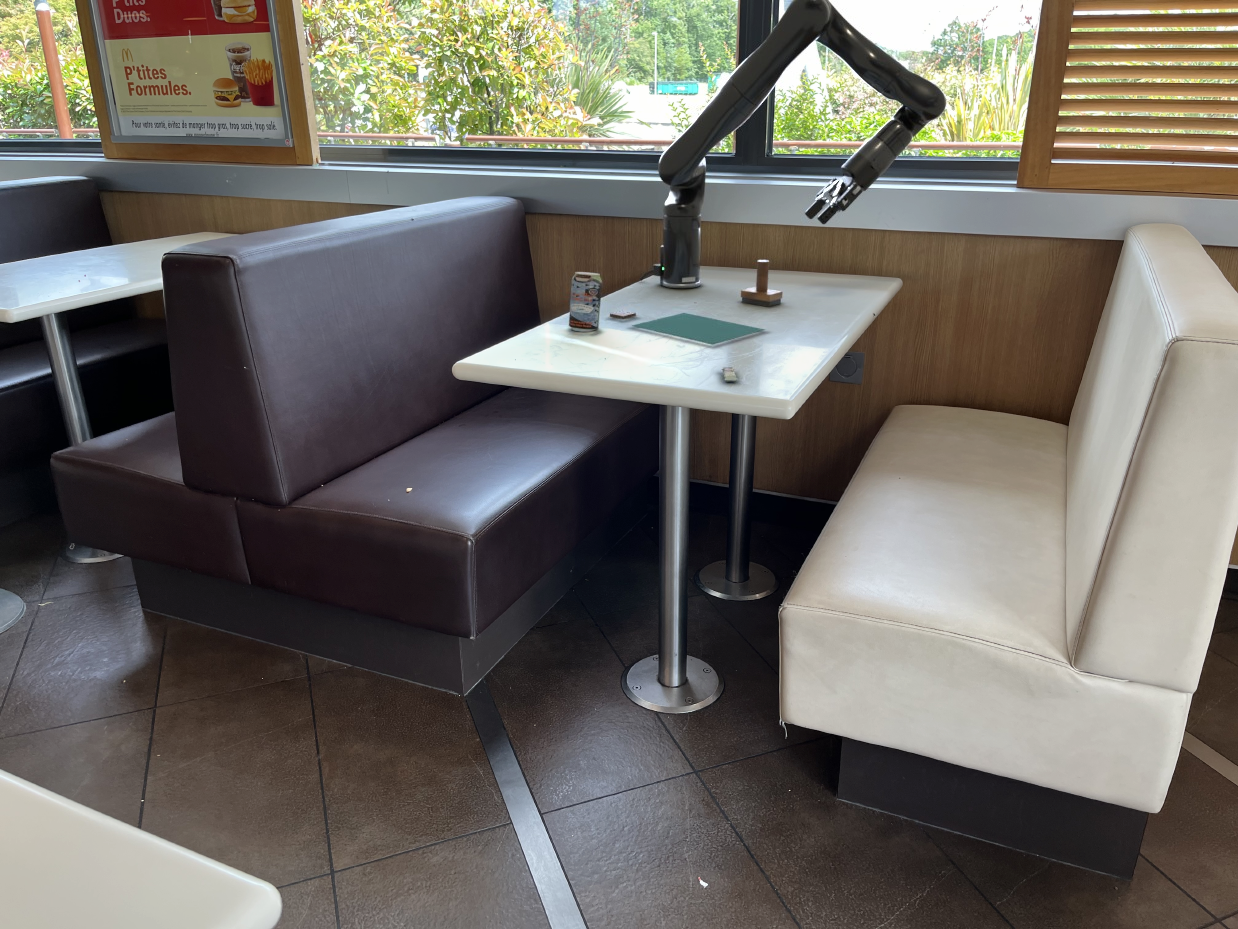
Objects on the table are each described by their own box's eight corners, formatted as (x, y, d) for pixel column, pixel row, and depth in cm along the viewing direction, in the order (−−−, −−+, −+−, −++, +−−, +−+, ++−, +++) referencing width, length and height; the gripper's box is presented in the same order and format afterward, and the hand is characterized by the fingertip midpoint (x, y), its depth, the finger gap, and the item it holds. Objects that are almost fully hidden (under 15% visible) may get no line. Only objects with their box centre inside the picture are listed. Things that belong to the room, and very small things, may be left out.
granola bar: (738, 383, 147) (738, 377, 146) (724, 383, 147) (724, 377, 146) (734, 371, 153) (734, 365, 153) (720, 371, 153) (720, 365, 153)
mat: (631, 328, 183) (631, 325, 183) (684, 315, 193) (684, 312, 193) (712, 347, 168) (712, 344, 168) (765, 332, 178) (765, 329, 178)
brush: (740, 302, 205) (742, 260, 201) (753, 298, 208) (755, 257, 204) (769, 307, 200) (771, 264, 196) (782, 303, 203) (784, 261, 199)
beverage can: (563, 333, 180) (561, 273, 175) (581, 325, 186) (580, 267, 181) (590, 336, 177) (589, 276, 172) (608, 328, 183) (607, 270, 178)
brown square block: (609, 318, 191) (609, 313, 191) (622, 315, 194) (622, 310, 193) (623, 321, 189) (623, 316, 188) (636, 318, 191) (636, 312, 191)
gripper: (845, 149, 200) (792, 203, 203) (870, 152, 187) (813, 210, 190) (866, 173, 203) (813, 226, 206) (891, 178, 190) (835, 235, 193)
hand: (813, 218), depth 198 cm, fingers open, 8 cm apart
